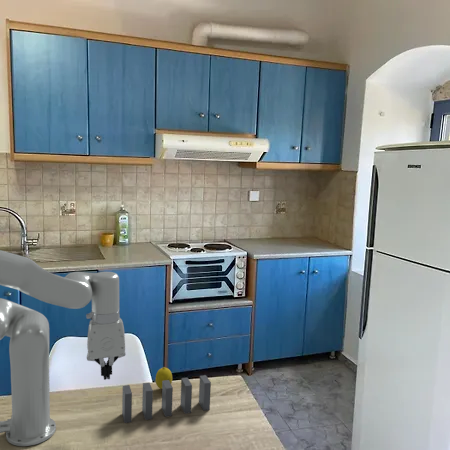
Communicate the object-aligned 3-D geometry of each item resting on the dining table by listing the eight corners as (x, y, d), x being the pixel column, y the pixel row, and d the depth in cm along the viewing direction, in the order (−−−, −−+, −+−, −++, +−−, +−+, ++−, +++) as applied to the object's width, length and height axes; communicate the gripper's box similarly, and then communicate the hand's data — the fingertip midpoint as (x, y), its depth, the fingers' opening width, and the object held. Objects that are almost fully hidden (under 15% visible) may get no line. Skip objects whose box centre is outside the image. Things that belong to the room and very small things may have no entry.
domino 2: (145, 419, 134) (145, 391, 133) (142, 410, 139) (142, 383, 137) (152, 418, 135) (152, 390, 133) (148, 409, 139) (149, 382, 138)
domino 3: (165, 416, 136) (166, 388, 135) (161, 408, 141) (162, 380, 139) (171, 415, 137) (172, 387, 135) (167, 407, 141) (168, 379, 140)
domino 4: (184, 413, 138) (185, 386, 137) (180, 405, 143) (181, 378, 141) (191, 412, 139) (192, 385, 138) (186, 404, 143) (187, 377, 142)
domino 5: (203, 410, 140) (204, 383, 139) (198, 402, 145) (199, 375, 144) (209, 409, 141) (210, 382, 140) (204, 401, 146) (205, 375, 144)
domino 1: (128, 412, 137) (129, 384, 136) (131, 422, 133) (131, 393, 131) (122, 413, 137) (122, 385, 135) (124, 423, 132) (124, 394, 131)
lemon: (168, 395, 148) (169, 372, 147) (152, 392, 149) (153, 369, 148) (174, 387, 154) (174, 364, 152) (158, 384, 155) (159, 362, 153)
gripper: (78, 323, 121) (79, 387, 124) (134, 318, 127) (134, 379, 130) (77, 314, 128) (78, 375, 131) (130, 309, 134) (130, 368, 136)
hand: (106, 377), depth 130 cm, fingers closed
